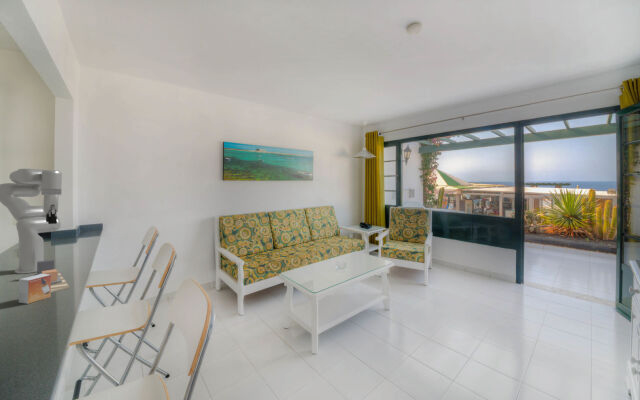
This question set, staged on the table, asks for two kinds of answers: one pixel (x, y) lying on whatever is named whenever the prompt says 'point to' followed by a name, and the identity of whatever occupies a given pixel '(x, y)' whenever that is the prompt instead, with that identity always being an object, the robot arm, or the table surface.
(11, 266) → the table surface
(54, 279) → the cube
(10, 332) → the table surface
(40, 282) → the small box
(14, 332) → the table surface
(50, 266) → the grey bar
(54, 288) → the board
